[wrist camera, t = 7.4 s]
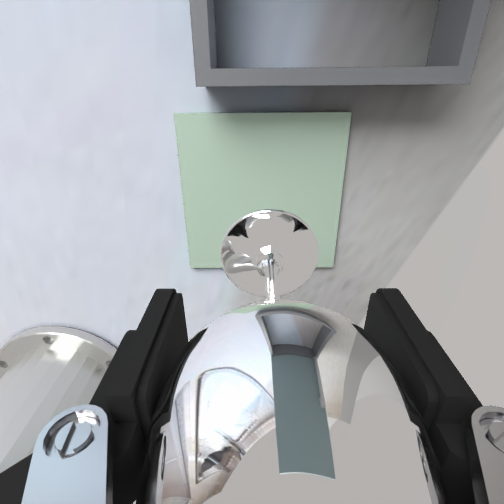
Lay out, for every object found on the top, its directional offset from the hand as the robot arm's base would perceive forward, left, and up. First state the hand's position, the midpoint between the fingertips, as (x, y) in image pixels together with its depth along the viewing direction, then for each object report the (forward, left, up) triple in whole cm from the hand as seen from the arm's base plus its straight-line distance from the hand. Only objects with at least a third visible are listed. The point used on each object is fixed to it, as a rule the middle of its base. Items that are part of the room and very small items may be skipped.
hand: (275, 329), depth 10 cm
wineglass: (0, 0, -5) cm, 5 cm away
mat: (0, 0, -14) cm, 14 cm away
